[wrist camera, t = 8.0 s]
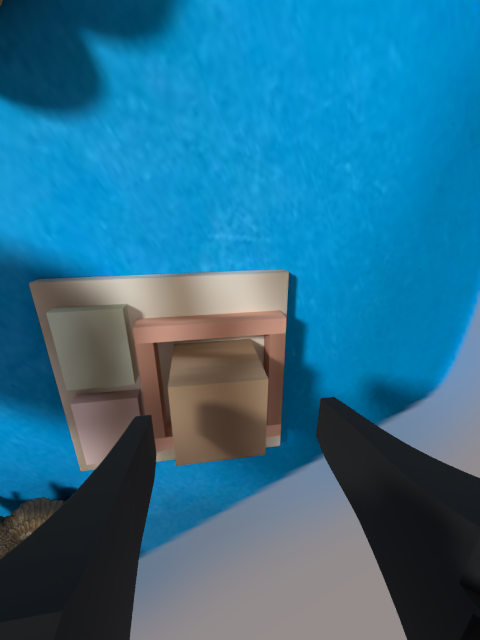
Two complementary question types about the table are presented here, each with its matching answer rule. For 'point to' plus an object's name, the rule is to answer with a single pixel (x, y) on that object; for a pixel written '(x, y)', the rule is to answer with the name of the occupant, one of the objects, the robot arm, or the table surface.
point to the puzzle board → (151, 345)
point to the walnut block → (217, 401)
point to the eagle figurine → (25, 522)
